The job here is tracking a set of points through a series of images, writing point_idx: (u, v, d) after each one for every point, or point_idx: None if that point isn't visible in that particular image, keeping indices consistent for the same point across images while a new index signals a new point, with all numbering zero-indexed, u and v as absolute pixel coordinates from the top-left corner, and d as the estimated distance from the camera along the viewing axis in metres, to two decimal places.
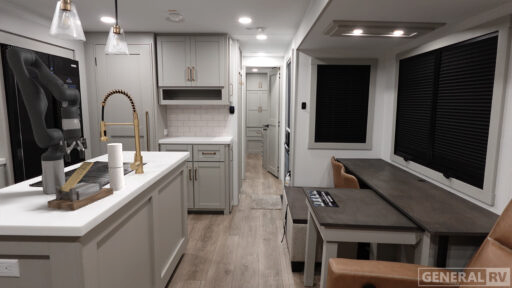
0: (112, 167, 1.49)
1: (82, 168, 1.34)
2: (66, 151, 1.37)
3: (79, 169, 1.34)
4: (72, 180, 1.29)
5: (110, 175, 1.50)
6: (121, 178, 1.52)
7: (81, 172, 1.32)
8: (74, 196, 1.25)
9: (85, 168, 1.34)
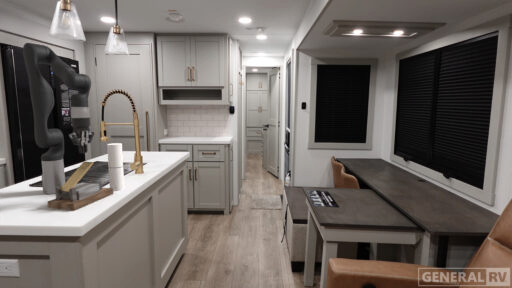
0: (112, 167, 1.49)
1: (82, 168, 1.34)
2: (80, 143, 1.32)
3: (79, 169, 1.34)
4: (72, 180, 1.29)
5: (110, 175, 1.50)
6: (121, 178, 1.52)
7: (81, 172, 1.32)
8: (74, 196, 1.25)
9: (85, 168, 1.34)
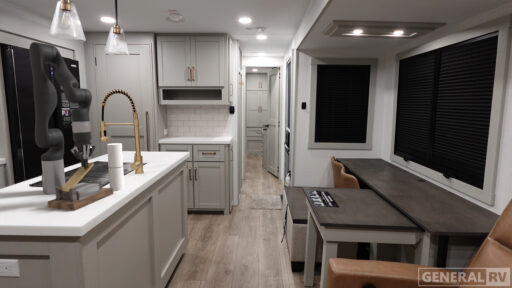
0: (112, 167, 1.49)
1: (83, 169, 1.35)
2: (82, 157, 1.33)
3: (79, 169, 1.35)
4: (72, 180, 1.29)
5: (110, 175, 1.50)
6: (121, 178, 1.52)
7: (82, 173, 1.33)
8: (74, 196, 1.25)
9: (86, 169, 1.35)
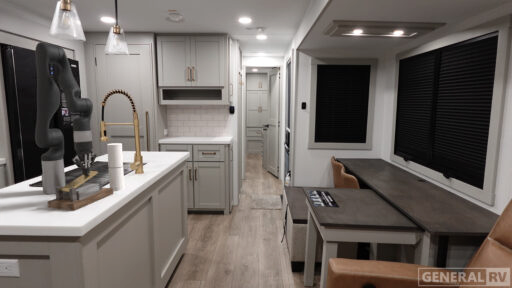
0: (112, 167, 1.49)
1: None
2: (83, 166, 1.34)
3: (83, 175, 1.37)
4: (74, 183, 1.30)
5: (110, 175, 1.50)
6: (121, 178, 1.52)
7: (84, 178, 1.34)
8: (74, 196, 1.25)
9: (89, 175, 1.37)
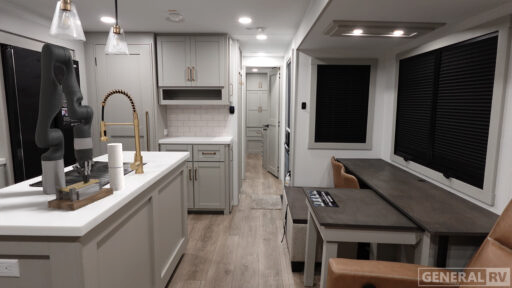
0: (112, 167, 1.49)
1: None
2: (84, 173, 1.34)
3: None
4: (74, 185, 1.31)
5: (110, 175, 1.50)
6: (121, 178, 1.52)
7: (85, 183, 1.35)
8: (74, 196, 1.25)
9: (90, 181, 1.38)
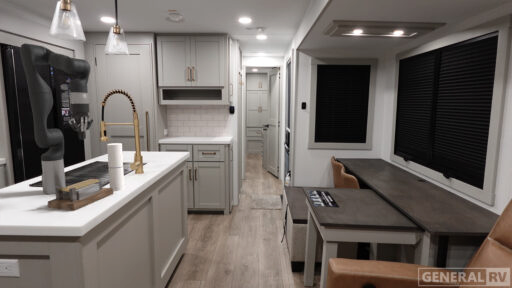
0: (112, 167, 1.49)
1: (87, 181, 1.38)
2: (80, 130, 1.31)
3: (84, 181, 1.38)
4: (74, 185, 1.31)
5: (110, 175, 1.50)
6: (121, 178, 1.52)
7: (85, 183, 1.35)
8: (74, 196, 1.25)
9: (90, 181, 1.38)
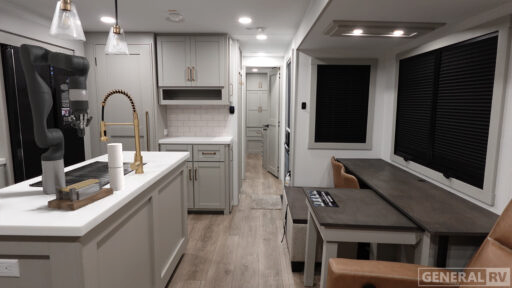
0: (112, 167, 1.49)
1: (87, 181, 1.38)
2: (79, 127, 1.31)
3: (84, 181, 1.38)
4: (74, 185, 1.31)
5: (110, 175, 1.50)
6: (121, 178, 1.52)
7: (85, 183, 1.35)
8: (74, 196, 1.25)
9: (90, 181, 1.38)
